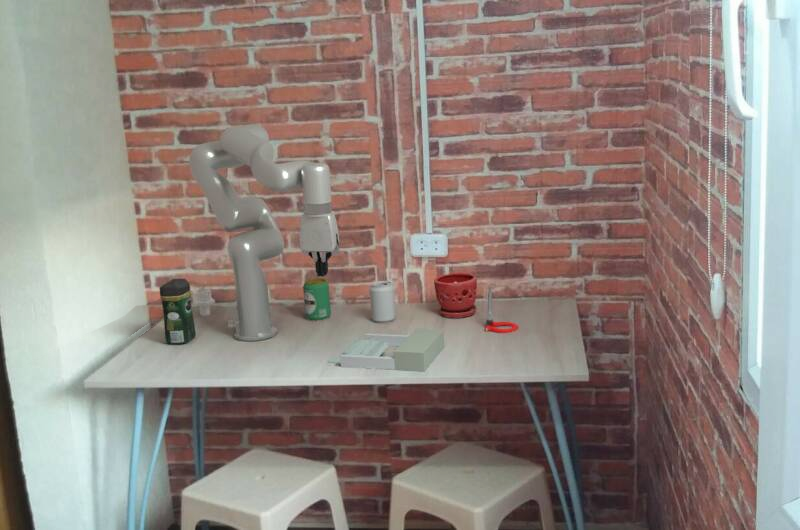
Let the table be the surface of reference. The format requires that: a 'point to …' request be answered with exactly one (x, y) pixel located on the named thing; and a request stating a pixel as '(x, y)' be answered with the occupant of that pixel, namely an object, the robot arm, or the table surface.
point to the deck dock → (402, 351)
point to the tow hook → (491, 323)
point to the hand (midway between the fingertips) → (322, 275)
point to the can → (382, 302)
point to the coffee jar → (177, 311)
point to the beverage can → (317, 299)
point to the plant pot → (456, 294)
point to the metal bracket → (363, 349)
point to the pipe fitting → (203, 301)
